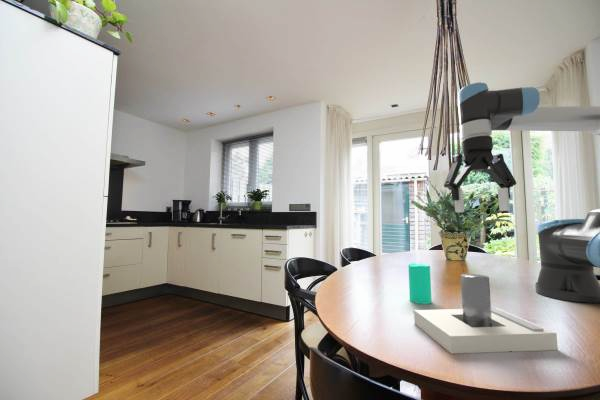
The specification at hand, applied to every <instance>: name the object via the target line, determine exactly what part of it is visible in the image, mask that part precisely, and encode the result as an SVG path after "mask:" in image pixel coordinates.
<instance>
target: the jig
mask: <svg viewBox="0 0 600 400" xmlns="http://www.w3.org/2000/svg"><path fill="white" fill-rule="evenodd" d="M413 315H414V317H413V318H414V325H416V326H417V327H418V328H420V329H421V331H422V332H424V333H426V334H427V336H430V338H431V339H433V340H434V341H435V342H437V343H438V344H439V345H440V346H442V347H443V348H444V350H446V351H447V352H448V353H450V354H476V353H479V354H480V353H508V352H509V351H512V352H533V351H534V352H537V351H539V352H541V351H557V350H558V349H559V347H558V337H557V336H558V335H557V332H555V331H553V330H550V329H548V328H546V327H544V326H541V325H538V324H536V323H533V322H531V321H529V320H528V319H524V318H521V317H520V316H517V315H515V314H512V313H511V312H510V313H509V312H508V311H506V310H503V309H501V308H497V307H491V317H492V327H470V326H469V325H467V324H465V323H464V322H463V308H450V309H448V308H446V309H445V308H444V309H442V308H441V309H414V310H413Z"/></svg>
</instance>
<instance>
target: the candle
mask: <svg viewBox="0 0 600 400" xmlns="http://www.w3.org/2000/svg"><path fill="white" fill-rule="evenodd" d="M431 281H432V279H431V265H430V264H425V263H414V262H411V263H409V264H408V284H409V285H408V287H409V289H408V290H409V301H411V302H412V303H416V304H421V303H422V304H431V302H432V301H433V300H432V282H431Z"/></svg>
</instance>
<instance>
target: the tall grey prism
mask: <svg viewBox="0 0 600 400" xmlns="http://www.w3.org/2000/svg"><path fill="white" fill-rule="evenodd" d="M460 283H461V284H460V285H461V287H460V288H461V301H462V302H461V303H462V304H461V307H462V308H461V309H463V322H464V323H465V324H467V325H469V326H470V327H492V317H491V308H492V307H491V306H492V302H491V287H490V285H491V284H490V277H489V276H487V275H483V274H477V273H476V274H475V273H462V274H460Z"/></svg>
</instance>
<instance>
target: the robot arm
mask: <svg viewBox="0 0 600 400" xmlns="http://www.w3.org/2000/svg"><path fill="white" fill-rule="evenodd" d="M540 100H541V96H540V91H539V90H538V88H536V87H534V86H530V87H529V86H528V87H526V86H525V87H523V86H520V87H516V88H507V89H505V88H504V89H498V90H494V89H493V90H489V87H488V84H487V83H485V82H474V83H470V84H468V85H465V86H463V87H461V89H460V90H459V91H458V94H457V107H458V119H459V130H460V140H462V141H461V143H460V146H461V153H459V154H456V155H453V156H452V162H451V166H450V169H449V170H448V171H449V172H448V174H447V177H446V179H445V180H444V183H443V187H444V188H447V189H448V190H449V191H451V200H452V201H454V212H455V213H465V205H464V193H463V192H464V191H463V188H461V186H462V185H463V183H464V182H465V181H466V179H467V178H468V176H469V175H470V173H471V172H474V171H478V172H479V171H480V172H482V171H483V172H484V173H486V174H487V175H489V177H490V178H491V179H492V180H493V181H494V182H495V184H496V185H497V186H498V187H499V188H497V199H498V209H499V212H504V211H505V212H507V211H509V212H510V211H511V208H510V199H511V189H510V188H513V187H514V186H516V185H517V181H516V179H515V177H514V176H513V174H512V172H511V170H510V169H509V166H508V165H507V164H506V162H505V159H504V155H503V153H498V154H495V155H493V153H492V150H493V148H494V143H493V137H492V134H493V131H515V132H516V131H522V132H525V131H526V132H527V131H528V132H529V131H530V132H531V131H533V132H535V131H536V132H588V133H589V134H591V135H594V136H595V135H596V136H597V135H598V136H600V103H598V104H597V105H594V106H592V105H591V106H590V105H588V106H587V105H586V106H585V105H583V106H582V105H581V106H579V105H577V106H572V105H570V106H568V105H567V106H566V105H565V106H563V105H562V106H539V104H540ZM462 154H463V155H462ZM462 163H464V165H463V167H462V168H461V166H462ZM460 169H461V171H460ZM459 171H460V172H459ZM537 229H538V230H537V236H538V244H539V256H540V258H539V259H540V270H539V274H538V278H537V282H535V284H534V285H535V286H534V287H535V292H536V293H537V294H539V295H541V296H544V297H547V298H548V297H549V298H553V299H557V300H563V301H570V302H578V303H588V304H589V303H590V304H591V303H592V304H593V303H594V304H595V303H596V304H597V303H600V282H599V280H598V278H597V276H596V274H595V269H594V267H595V268H599V269H600V207H599V208H597V209H594V210H590V211H589V212H588V213H587V215H586V216H585V218H564V219H553V220H552V219H551V220H546V221H542V222H540V223H539V224H538V228H537Z"/></svg>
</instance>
